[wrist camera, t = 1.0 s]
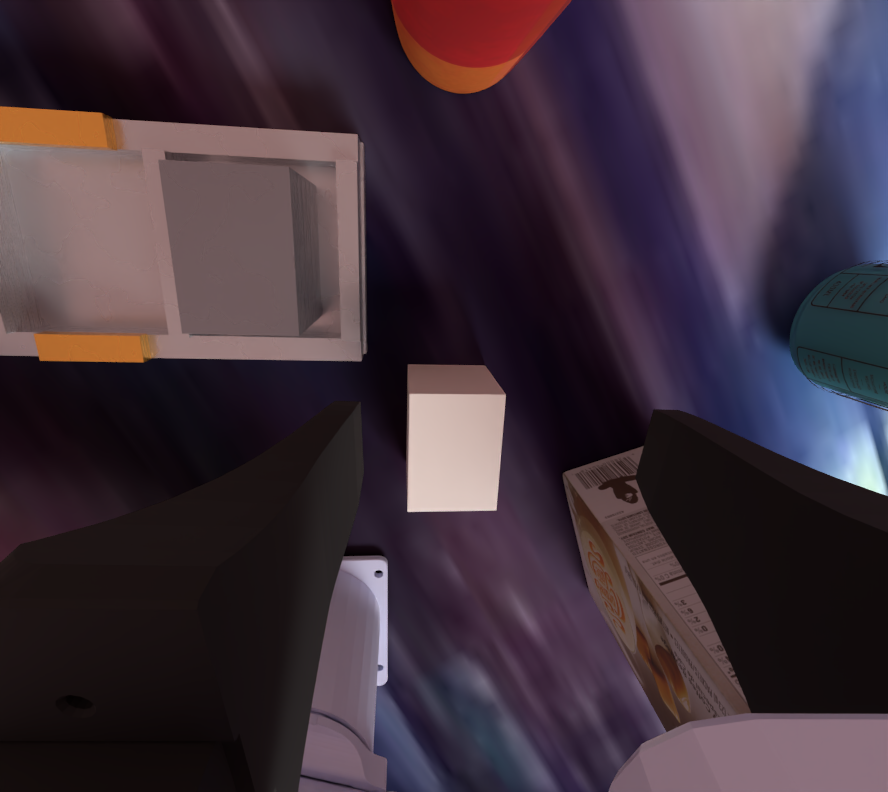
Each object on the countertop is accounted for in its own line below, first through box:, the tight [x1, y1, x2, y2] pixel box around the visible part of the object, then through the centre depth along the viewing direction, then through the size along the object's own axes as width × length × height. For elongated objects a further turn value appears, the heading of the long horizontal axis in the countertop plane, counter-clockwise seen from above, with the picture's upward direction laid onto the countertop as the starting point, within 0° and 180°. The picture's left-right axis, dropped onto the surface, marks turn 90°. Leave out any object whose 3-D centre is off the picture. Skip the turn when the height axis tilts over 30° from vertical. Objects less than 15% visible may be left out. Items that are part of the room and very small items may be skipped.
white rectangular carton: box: [406, 364, 506, 512], centre depth 22 cm, size 6×4×5 cm
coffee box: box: [563, 446, 751, 732], centre depth 20 cm, size 9×6×16 cm
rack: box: [0, 106, 368, 362], centre depth 18 cm, size 9×22×6 cm, turn 88°
